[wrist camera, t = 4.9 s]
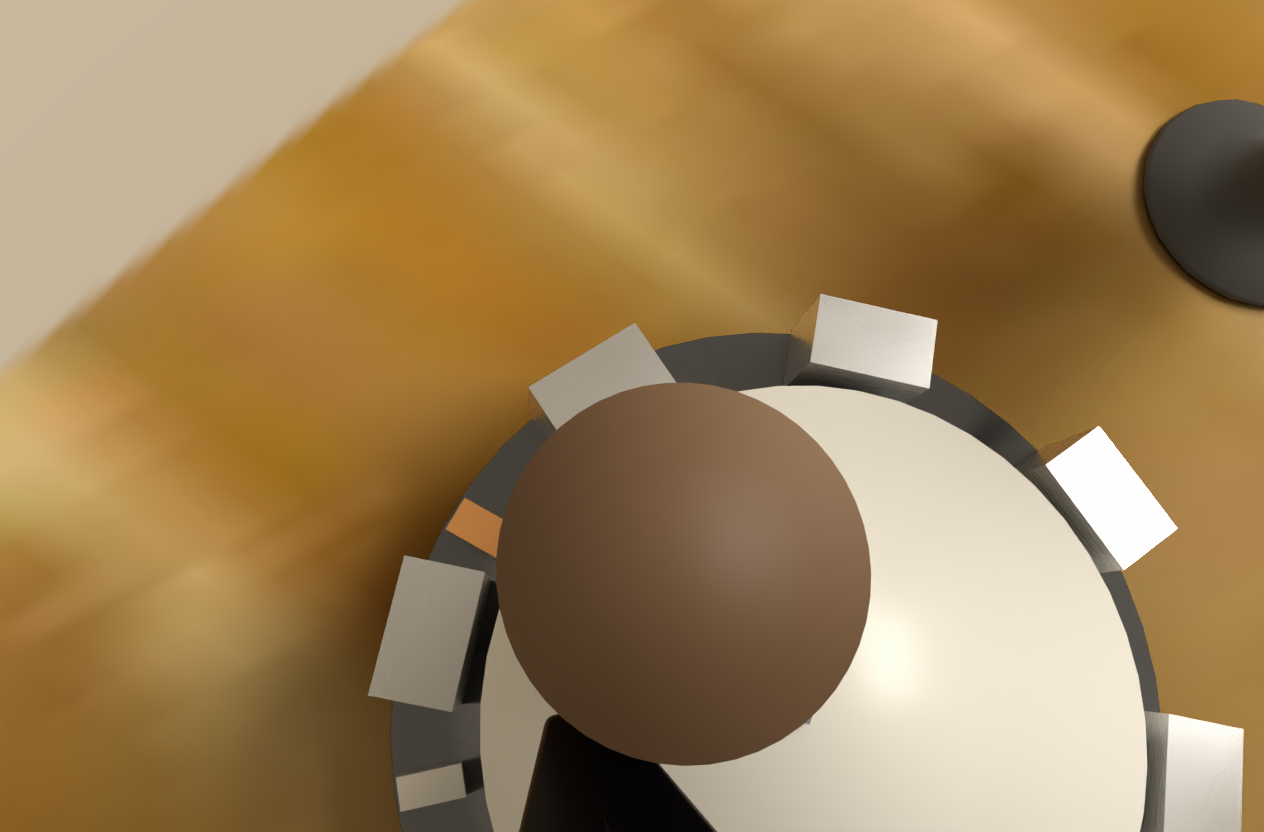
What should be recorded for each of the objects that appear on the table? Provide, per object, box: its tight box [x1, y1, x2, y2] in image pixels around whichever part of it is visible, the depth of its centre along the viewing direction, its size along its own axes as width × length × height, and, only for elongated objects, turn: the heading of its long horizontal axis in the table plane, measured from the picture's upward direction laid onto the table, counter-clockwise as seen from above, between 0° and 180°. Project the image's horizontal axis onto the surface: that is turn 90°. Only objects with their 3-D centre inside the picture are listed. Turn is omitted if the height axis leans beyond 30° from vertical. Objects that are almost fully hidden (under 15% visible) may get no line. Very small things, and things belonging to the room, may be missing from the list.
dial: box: [480, 383, 1147, 832], centre depth 10 cm, size 10×10×10 cm
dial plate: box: [368, 294, 1243, 832], centre depth 15 cm, size 13×13×3 cm
